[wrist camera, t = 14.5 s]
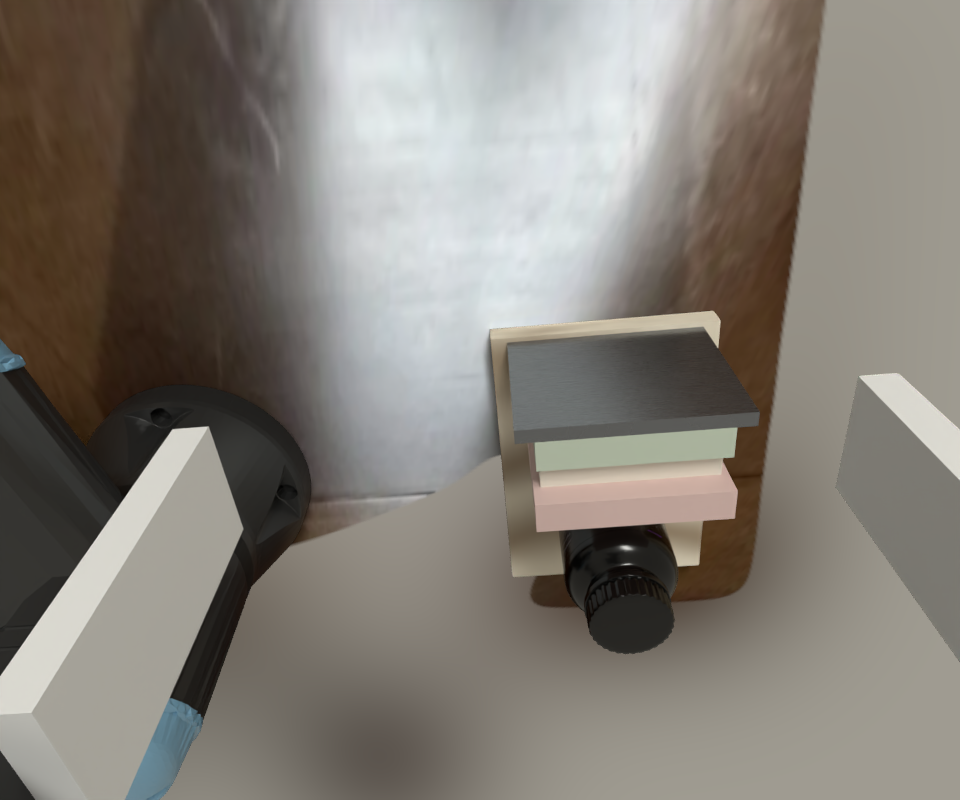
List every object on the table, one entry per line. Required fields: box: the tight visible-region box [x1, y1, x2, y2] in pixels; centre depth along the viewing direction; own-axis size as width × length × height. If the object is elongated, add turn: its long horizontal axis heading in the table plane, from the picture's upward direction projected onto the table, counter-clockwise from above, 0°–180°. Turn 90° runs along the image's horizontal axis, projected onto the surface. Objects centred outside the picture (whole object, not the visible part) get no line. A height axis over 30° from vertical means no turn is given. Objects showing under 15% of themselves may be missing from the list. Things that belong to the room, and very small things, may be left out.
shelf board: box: [490, 311, 720, 577], centre depth 49 cm, size 20×14×2 cm
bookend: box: [507, 327, 760, 444], centre depth 39 cm, size 1×12×10 cm, turn 96°
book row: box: [528, 427, 738, 532], centre depth 40 cm, size 5×10×10 cm, turn 95°
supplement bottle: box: [559, 523, 678, 654], centre depth 44 cm, size 7×7×12 cm
